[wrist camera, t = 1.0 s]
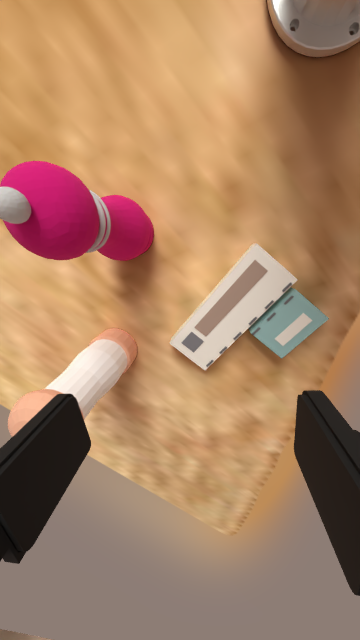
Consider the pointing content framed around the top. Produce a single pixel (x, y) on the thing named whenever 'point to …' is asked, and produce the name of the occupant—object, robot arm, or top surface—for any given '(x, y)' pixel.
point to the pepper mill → (69, 215)
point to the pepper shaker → (82, 377)
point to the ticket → (232, 306)
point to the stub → (287, 322)
